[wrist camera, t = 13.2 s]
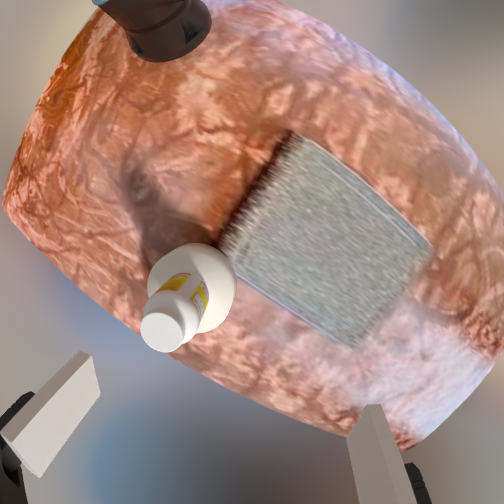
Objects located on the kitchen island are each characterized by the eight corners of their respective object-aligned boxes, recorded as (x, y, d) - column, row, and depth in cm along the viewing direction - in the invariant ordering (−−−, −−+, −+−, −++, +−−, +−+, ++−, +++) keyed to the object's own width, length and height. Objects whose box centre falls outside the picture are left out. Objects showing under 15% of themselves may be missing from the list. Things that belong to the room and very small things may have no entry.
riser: (155, 246, 44) (139, 254, 38) (231, 238, 43) (225, 246, 37) (169, 317, 47) (157, 333, 41) (241, 315, 45) (237, 332, 39)
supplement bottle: (158, 296, 38) (121, 334, 26) (180, 261, 38) (147, 289, 25) (194, 323, 39) (172, 370, 26) (219, 289, 38) (204, 329, 26)
